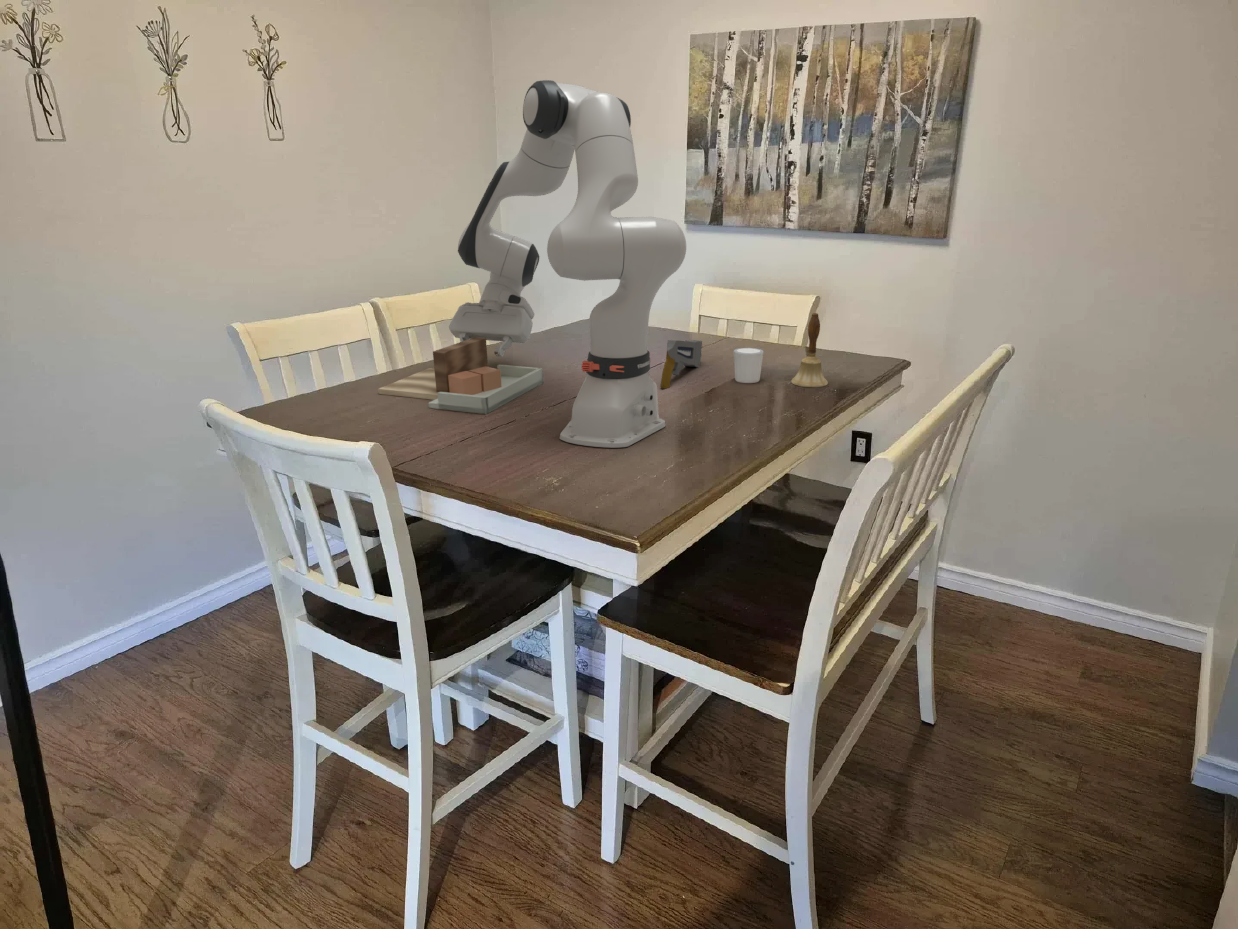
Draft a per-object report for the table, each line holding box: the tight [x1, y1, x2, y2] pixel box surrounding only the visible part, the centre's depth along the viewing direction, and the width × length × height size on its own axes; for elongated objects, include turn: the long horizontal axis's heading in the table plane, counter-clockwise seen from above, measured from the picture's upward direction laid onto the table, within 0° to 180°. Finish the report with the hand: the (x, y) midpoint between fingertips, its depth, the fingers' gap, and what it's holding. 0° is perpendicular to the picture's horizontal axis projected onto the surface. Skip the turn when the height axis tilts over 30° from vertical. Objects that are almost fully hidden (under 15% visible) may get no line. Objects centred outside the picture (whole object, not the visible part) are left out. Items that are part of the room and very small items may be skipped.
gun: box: [660, 339, 703, 390], centre depth 198 cm, size 3×25×15 cm, turn 158°
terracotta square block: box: [469, 366, 502, 392], centre depth 186 cm, size 5×5×4 cm
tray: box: [428, 364, 544, 415], centre depth 184 cm, size 26×14×4 cm, turn 158°
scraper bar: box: [432, 337, 489, 393], centre depth 188 cm, size 16×3×9 cm, turn 155°
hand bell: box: [790, 312, 829, 388], centre depth 188 cm, size 8×8×16 cm
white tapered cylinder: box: [733, 347, 764, 384], centre depth 192 cm, size 7×7×7 cm
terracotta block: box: [448, 371, 482, 395], centre depth 182 cm, size 5×5×4 cm
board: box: [377, 367, 438, 401], centre depth 192 cm, size 20×18×1 cm
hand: (480, 353), depth 194 cm, fingers open, 8 cm apart
